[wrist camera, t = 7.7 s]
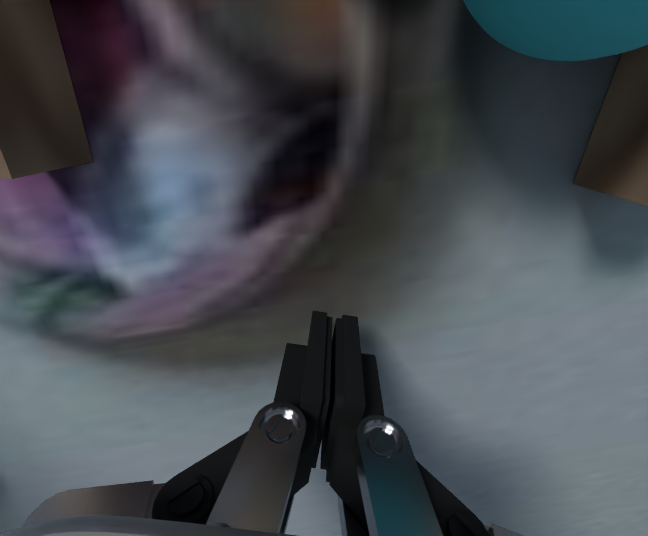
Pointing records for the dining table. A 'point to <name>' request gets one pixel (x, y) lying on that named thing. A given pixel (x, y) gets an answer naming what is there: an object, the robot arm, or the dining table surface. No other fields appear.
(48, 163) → the pin alley
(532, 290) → the dining table surface
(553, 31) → the ball
